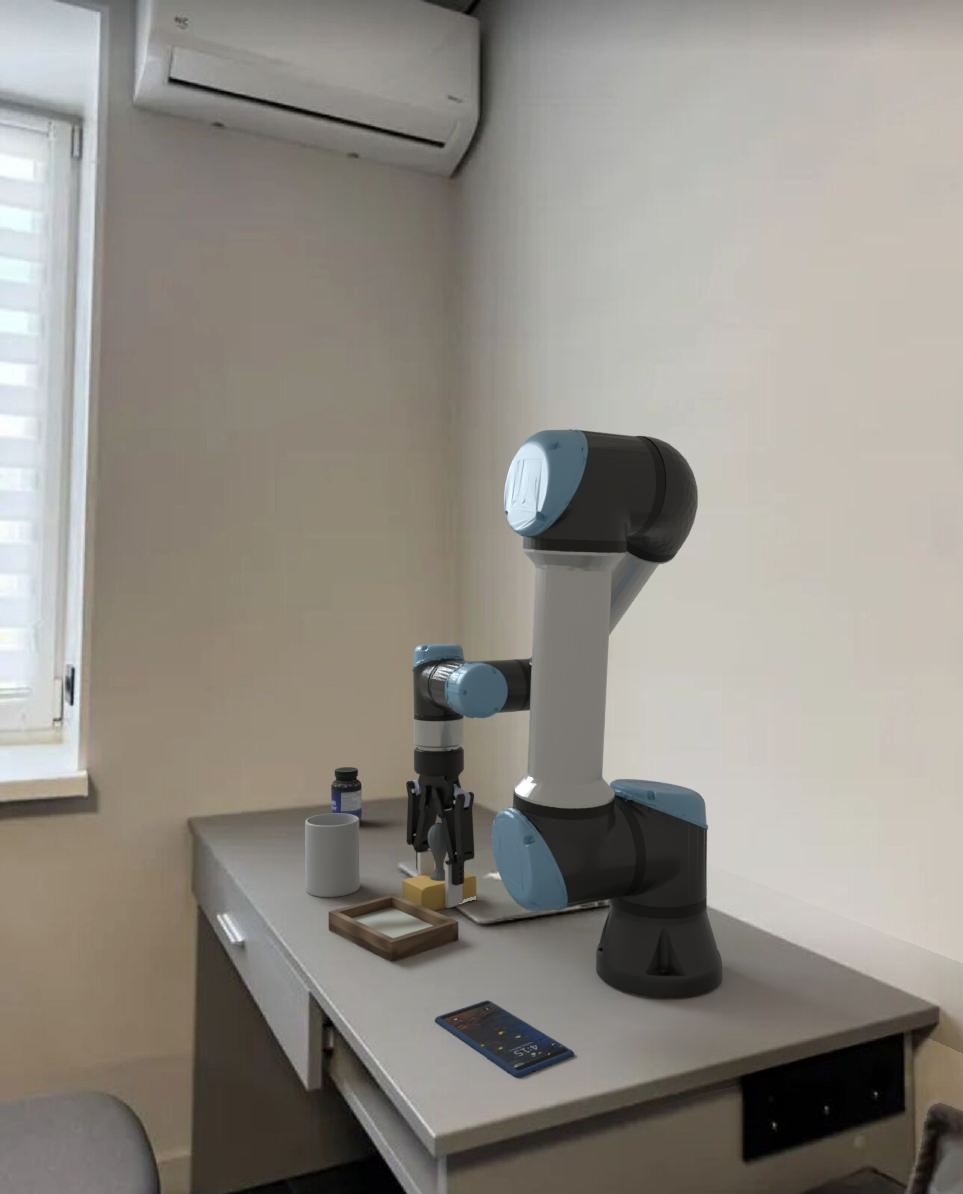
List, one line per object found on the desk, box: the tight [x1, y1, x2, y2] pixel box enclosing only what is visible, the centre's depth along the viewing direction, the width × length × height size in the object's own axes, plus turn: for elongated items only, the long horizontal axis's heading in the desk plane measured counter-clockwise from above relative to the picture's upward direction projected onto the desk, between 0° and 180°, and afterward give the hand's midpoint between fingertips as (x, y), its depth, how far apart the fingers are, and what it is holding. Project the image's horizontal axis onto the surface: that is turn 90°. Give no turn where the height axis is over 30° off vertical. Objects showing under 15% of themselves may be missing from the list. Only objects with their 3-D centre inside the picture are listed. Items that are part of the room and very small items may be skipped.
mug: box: [304, 813, 361, 898], centre depth 147 cm, size 12×8×11 cm
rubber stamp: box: [402, 822, 477, 912], centre depth 139 cm, size 10×6×12 cm, turn 127°
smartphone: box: [434, 1000, 575, 1079], centre depth 97 cm, size 8×1×15 cm
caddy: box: [328, 893, 460, 963], centre depth 126 cm, size 15×11×2 cm
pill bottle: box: [330, 766, 363, 825], centre depth 186 cm, size 6×6×11 cm
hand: (439, 899), depth 139 cm, fingers closed on rubber stamp, 6 cm apart
